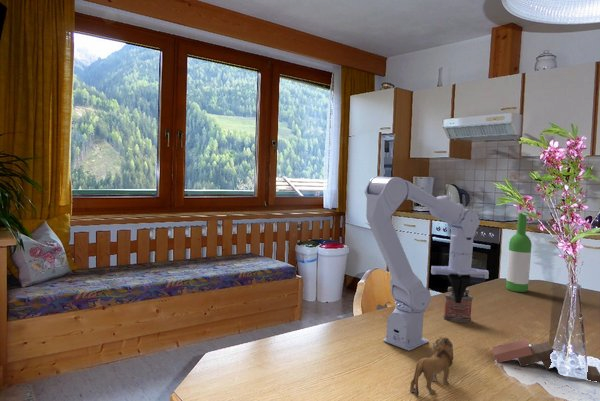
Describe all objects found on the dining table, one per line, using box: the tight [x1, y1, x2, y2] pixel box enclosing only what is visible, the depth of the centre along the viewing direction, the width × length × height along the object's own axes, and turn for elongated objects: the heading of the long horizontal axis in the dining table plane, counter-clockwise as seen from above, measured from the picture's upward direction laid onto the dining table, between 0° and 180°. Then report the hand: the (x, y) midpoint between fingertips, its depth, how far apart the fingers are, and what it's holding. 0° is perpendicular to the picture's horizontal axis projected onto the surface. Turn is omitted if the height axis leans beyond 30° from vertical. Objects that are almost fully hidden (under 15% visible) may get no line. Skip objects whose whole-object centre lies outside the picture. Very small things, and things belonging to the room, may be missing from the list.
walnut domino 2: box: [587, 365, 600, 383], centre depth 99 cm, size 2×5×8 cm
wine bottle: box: [505, 212, 532, 293], centre depth 169 cm, size 8×8×30 cm
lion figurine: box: [409, 335, 454, 398], centre depth 91 cm, size 15×5×9 cm, turn 142°
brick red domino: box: [492, 338, 533, 364], centre depth 105 cm, size 2×5×8 cm
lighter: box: [442, 286, 474, 323], centre depth 133 cm, size 8×3×10 cm, turn 84°
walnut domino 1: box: [517, 341, 555, 367], centre depth 103 cm, size 2×5×8 cm
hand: (457, 302), depth 119 cm, fingers closed
